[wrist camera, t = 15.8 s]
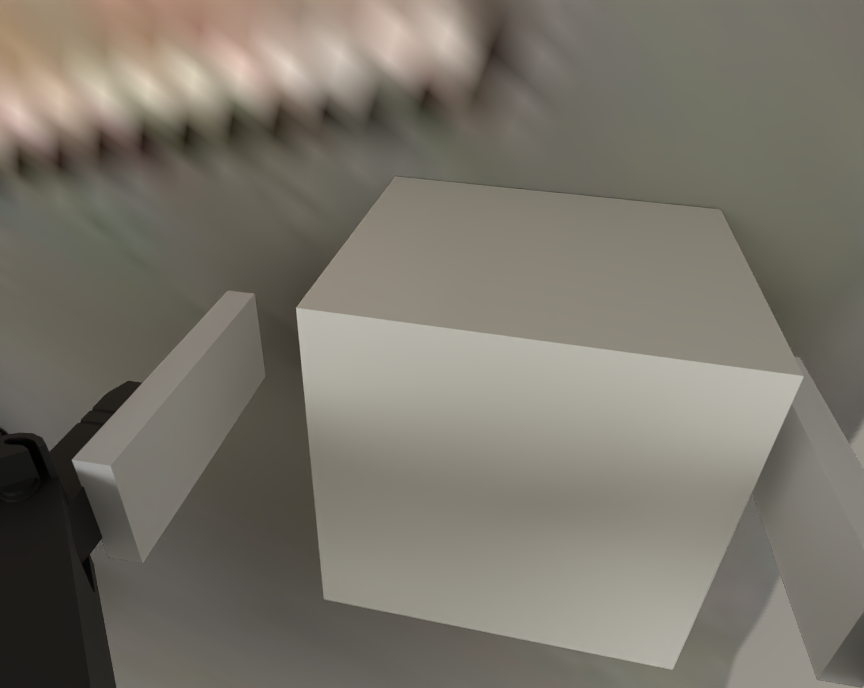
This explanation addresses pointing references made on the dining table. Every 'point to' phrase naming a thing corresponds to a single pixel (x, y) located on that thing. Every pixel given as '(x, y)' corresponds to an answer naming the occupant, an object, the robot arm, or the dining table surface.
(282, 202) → the dining table surface
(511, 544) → the plain off-white cube
